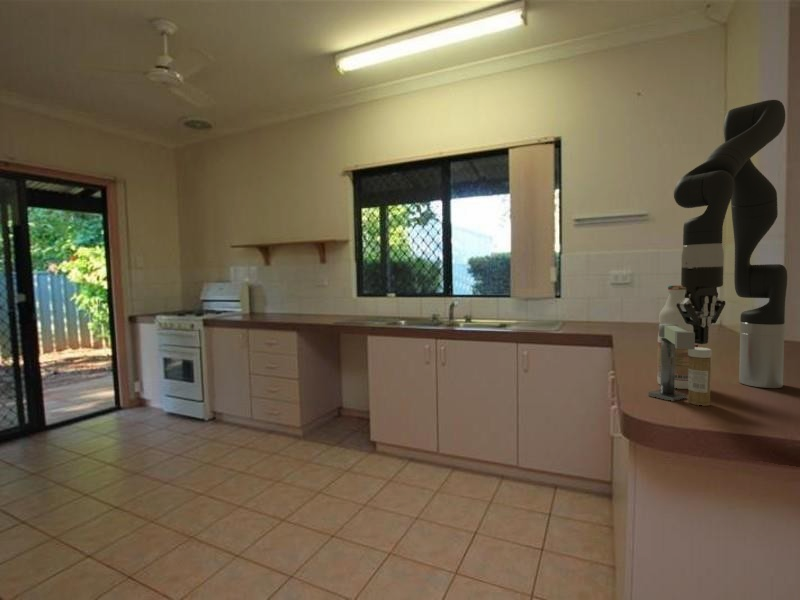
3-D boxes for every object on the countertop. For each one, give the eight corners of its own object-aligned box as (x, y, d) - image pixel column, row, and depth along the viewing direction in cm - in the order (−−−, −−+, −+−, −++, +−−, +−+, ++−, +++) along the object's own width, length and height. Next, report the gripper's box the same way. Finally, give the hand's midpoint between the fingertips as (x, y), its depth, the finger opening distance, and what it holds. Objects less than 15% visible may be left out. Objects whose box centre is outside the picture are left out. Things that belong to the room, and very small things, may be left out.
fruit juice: (649, 383, 120) (650, 285, 119) (673, 379, 123) (674, 284, 122) (680, 391, 111) (682, 286, 110) (705, 387, 115) (707, 285, 113)
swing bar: (657, 336, 108) (657, 322, 108) (675, 336, 107) (675, 322, 107) (674, 348, 90) (675, 332, 90) (696, 349, 89) (697, 332, 89)
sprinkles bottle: (713, 404, 100) (715, 348, 99) (705, 407, 98) (706, 350, 97) (692, 399, 104) (693, 345, 103) (683, 403, 101) (684, 348, 101)
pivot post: (661, 392, 111) (662, 336, 110) (686, 397, 105) (687, 338, 105) (648, 395, 108) (649, 338, 107) (673, 401, 103) (674, 341, 102)
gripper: (704, 265, 98) (703, 339, 99) (664, 266, 93) (663, 343, 94) (740, 264, 91) (738, 343, 92) (698, 265, 86) (697, 348, 87)
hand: (700, 343), depth 93 cm, fingers closed
